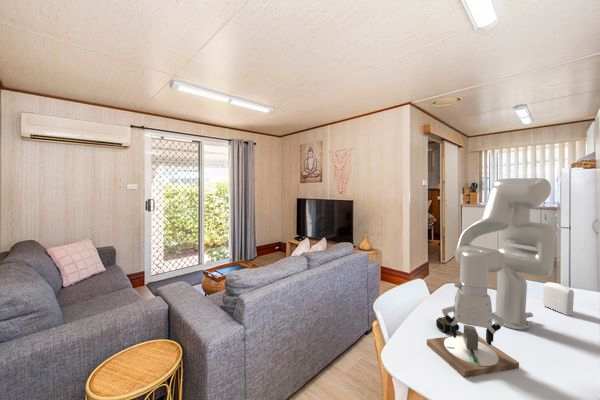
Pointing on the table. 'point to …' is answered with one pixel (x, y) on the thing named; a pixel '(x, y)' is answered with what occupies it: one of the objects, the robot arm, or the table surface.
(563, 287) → the photo printer
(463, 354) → the dial face
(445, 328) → the tape measure
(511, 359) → the tuner board
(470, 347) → the grey mallet
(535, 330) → the table surface
